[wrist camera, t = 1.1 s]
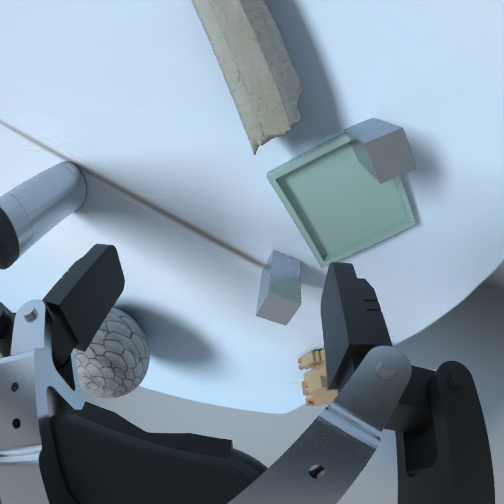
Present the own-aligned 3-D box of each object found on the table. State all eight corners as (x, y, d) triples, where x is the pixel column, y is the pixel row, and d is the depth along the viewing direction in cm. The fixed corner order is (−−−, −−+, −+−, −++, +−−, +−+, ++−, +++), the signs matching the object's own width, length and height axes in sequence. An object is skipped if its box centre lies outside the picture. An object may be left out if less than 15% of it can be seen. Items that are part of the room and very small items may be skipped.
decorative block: (234, -51, 18) (223, -76, 11) (314, 128, 32) (321, 136, 26) (181, -32, 20) (160, -51, 14) (257, 145, 34) (250, 157, 28)
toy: (279, 406, 49) (338, 416, 57) (358, 367, 40) (406, 383, 47) (277, 366, 57) (333, 383, 64) (346, 321, 47) (395, 347, 55)
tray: (320, 260, 42) (321, 267, 41) (267, 172, 36) (266, 177, 34) (411, 218, 36) (415, 224, 35) (372, 120, 30) (376, 121, 28)
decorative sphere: (126, 351, 65) (97, 411, 48) (75, 298, 56) (33, 358, 40) (178, 341, 58) (150, 417, 41) (121, 275, 50) (69, 352, 33)
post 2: (357, 160, 33) (380, 184, 25) (343, 130, 31) (364, 143, 23) (385, 148, 32) (416, 168, 23) (372, 117, 30) (402, 127, 21)
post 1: (287, 280, 45) (286, 325, 37) (262, 271, 45) (255, 315, 36) (299, 260, 43) (301, 304, 34) (273, 250, 42) (268, 292, 34)
